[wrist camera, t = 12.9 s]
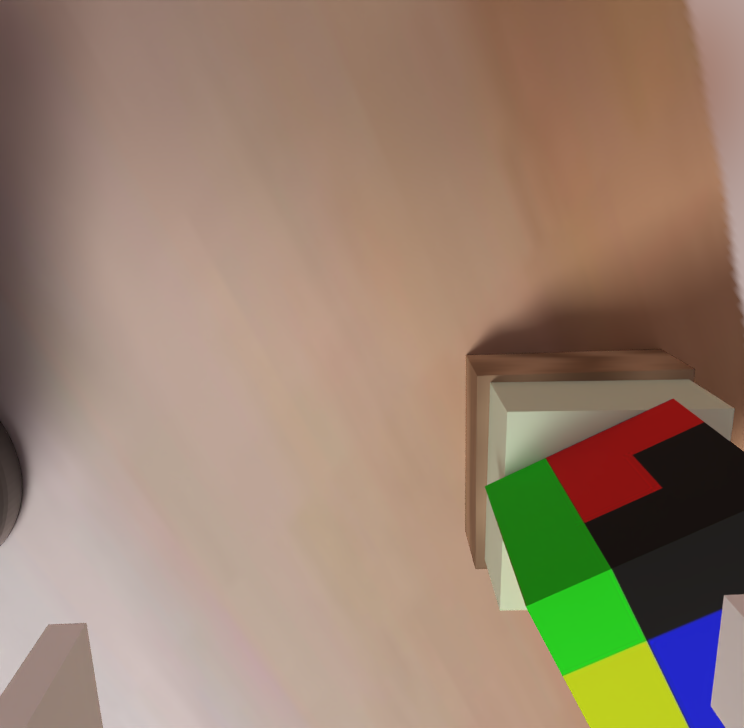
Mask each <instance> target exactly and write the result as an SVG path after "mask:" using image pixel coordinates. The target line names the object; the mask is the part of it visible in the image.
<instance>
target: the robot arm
mask: <svg viewBox="0 0 744 728" xmlns="http://www.w3.org/2000/svg"><path fill="white" fill-rule="evenodd" d="M21 497H22V477H21V470H20V465H19V461H18V457H17V454H16V451H15V449H14V446H13V444H12V442H11V440H10V438H9V436H8V434H7V432H6V430H5V429H4V427H3V426H2V424H1V423H0V546H1V544H2V543H3V542H4V541H5V539H6V538H7V537H8V535H9V533H10V532H11V530H12V528H13V526H14V524H15V522H16V519H17V516H18V513H19V509H20V504H21ZM711 707H712V709H713V710H714V712H715V713H716V715H717V716H718V718H719V719H720V720H721V722H722V723H723V725H724V726H725V728H744V594H740V595H724V599H723V608H722V616H721V624H720V632H719V641H718V649H717V657H716V666H715V674H714V682H713V691H712V699H711ZM0 728H103V725H102V719H101V713H100V706H99V700H98V694H97V687H96V681H95V674H94V668H93V662H92V655H91V649H90V643H89V636H88V630H87V624H86V623H74V624H51V625H48V626H47V627H46V629H45V630H44V632H43V633H42V635H41V636H40V638H39V639H38V641H37V642H36V644H35V645H34V647H33V648H32V650H31V651H30V653H29V654H28V656H27V657H26V659H25V660H24V662H23V663H22V665H21V666H20V668H19V669H18V671H17V672H16V674H15V675H14V677H13V678H12V680H11V681H10V683H9V684H8V686H7V687H6V689H5V690H4V692H3V693H2V695H1V696H0Z"/></svg>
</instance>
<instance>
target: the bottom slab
mask: <svg viewBox="0 0 744 728" xmlns="http://www.w3.org/2000/svg"><path fill="white" fill-rule="evenodd" d="M694 374H695V369H694V368H692V367H690V366H689V365H687V364H685V363H684V362H682V361H680V360H679V359H677V358H675V357H673V356H672V355H670V354H668V353H667V352H665V351H663V350H662V349H647V350H615V351H583V352H551V353H519V354H486V355H466V471H465V532H466V536H467V539H468V543H469V547H470V551H471V554H472V558H473V562H474V565H475V569H487V565H486V562H485V538H486V505H487V492H486V489H485V487H484V486H486V485H487V471H488V437H489V404H490V382H551V381H617V380H682V379H689V380H691V381H692V382H694Z"/></svg>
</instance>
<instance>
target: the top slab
mask: <svg viewBox="0 0 744 728" xmlns="http://www.w3.org/2000/svg"><path fill="white" fill-rule="evenodd" d="M671 399H675V400H676V401H677V402H679V403H680V404H681V405H683V406H684V407H685V408H687V409H688V410H689V411H691V412H692V413H693V414H695V415H696V416H697V417H698V418H700V419H701V420H702V421H704V422H705V423H706V424H708V425H709V426H710V427H712V428H713V429H714V430H716V431H717V432H718V433H720V434H721V435H722V436H724V437H725V438H726V439H728V440H729V441H730V442H731V434H732V426H733V418H734V410H735V408H733V407H732V406H730V405H729V404H727V403H725V402H724V401H722V400H721V399H719V398H718V397H716V396H714V395H713V394H711V393H710V392H708V391H707V390H705V389H703V388H702V387H700V386H699V385H697V384H696V383H694V382H692V381H691V380H689V379H682V380H617V381H551V382H490V404H489V437H488V471H487V485H488V484H490V483H493V482H495V481H497V480H499V479H501V478H503V477H505V476H508V475H510V474H512V473H514V472H516V471H518V470H520V469H523V468H525V467H527V466H529V465H531V464H533V463H535V462H538V461H540V460H542V459H544V458H546V457H548V456H551V455H553V454H555V453H557V452H559V451H561V450H563V449H566V448H568V447H570V446H572V445H574V444H576V443H578V442H581V441H583V440H585V439H587V438H589V437H591V436H593V435H596V434H598V433H600V432H602V431H604V430H606V429H608V428H611V427H613V426H615V425H617V424H619V423H621V422H623V421H626V420H628V419H630V418H632V417H634V416H636V415H638V414H641V413H643V412H645V411H647V410H649V409H651V408H654V407H656V406H658V405H660V404H662V403H664V402H666V401H669V400H671ZM485 562H486V565H487V569H488V572H489V575H490V579H491V582H492V586H493V589H494V592H495V596H496V599H497V602H498V606H499V609H500V610H527V608H526V606H525V603H524V600H523V597H522V594H521V591H520V588H519V585H518V582H517V580H516V577H515V574H514V571H513V568H512V565H511V562H510V559H509V556H508V553H507V550H506V548H505V545H504V542H503V539H502V536H501V533H500V530H499V527H498V524H497V521H496V519H495V516H494V513H493V510H492V507H491V504H490V501H489V498H488V495H487V505H486V538H485Z"/></svg>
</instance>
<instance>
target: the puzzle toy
mask: <svg viewBox="0 0 744 728" xmlns="http://www.w3.org/2000/svg"><path fill="white" fill-rule="evenodd" d="M484 487H485V489H486V492H487V495H488V498H489V501H490V504H491V507H492V510H493V513H494V516H495V519H496V521H497V524H498V527H499V530H500V533H501V536H502V539H503V542H504V545H505V548H506V550H507V553H508V556H509V559H510V562H511V565H512V568H513V571H514V574H515V577H516V580H517V582H518V585H519V588H520V591H521V594H522V597H523V600H524V603H525V606H526V608H527V610H528V612H529V613H530V615H531V617H532V619H533V621H534V623H535V625H536V627H537V629H538V630H539V632H540V634H541V636H542V638H543V640H544V642H545V644H546V645H547V647H548V649H549V651H550V653H551V655H552V657H553V659H554V661H555V662H556V664H557V666H558V668H559V670H560V672H561V674H562V676H563V677H564V679H565V681H566V683H567V685H568V687H569V689H570V691H571V693H572V694H573V696H574V698H575V700H576V702H577V704H578V706H579V708H580V709H581V711H582V713H583V715H584V717H585V719H586V721H587V723H588V725H589V726H590V728H725V726H724V725H723V723H722V722H721V720H720V719H719V718H718V716H717V715H716V713H715V712H714V710H713V709H712V707H711V699H712V691H713V682H714V674H715V666H716V657H717V649H718V641H719V632H720V624H721V616H722V608H723V599H724V595H740V594H744V452H743V451H742V450H741V449H739V448H738V447H737V446H735V445H734V444H733V443H732V442H730V441H729V440H728V439H726V438H725V437H724V436H722V435H721V434H720V433H718V432H717V431H716V430H714V429H713V428H712V427H710V426H709V425H708V424H706V423H705V422H704V421H702V420H701V419H700V418H698V417H697V416H696V415H695V414H693V413H692V412H691V411H689V410H688V409H687V408H685V407H684V406H683V405H681V404H680V403H679V402H677V401H676V400H675V399H671V400H669V401H666V402H664V403H662V404H660V405H658V406H656V407H654V408H651V409H649V410H647V411H645V412H643V413H641V414H638V415H636V416H634V417H632V418H630V419H628V420H626V421H623V422H621V423H619V424H617V425H615V426H613V427H611V428H608V429H606V430H604V431H602V432H600V433H598V434H596V435H593V436H591V437H589V438H587V439H585V440H583V441H581V442H578V443H576V444H574V445H572V446H570V447H568V448H566V449H563V450H561V451H559V452H557V453H555V454H553V455H551V456H548V457H546V458H544V459H542V460H540V461H538V462H535V463H533V464H531V465H529V466H527V467H525V468H523V469H520V470H518V471H516V472H514V473H512V474H510V475H508V476H505V477H503V478H501V479H499V480H497V481H495V482H493V483H490V484H488V485H486V486H484Z"/></svg>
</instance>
